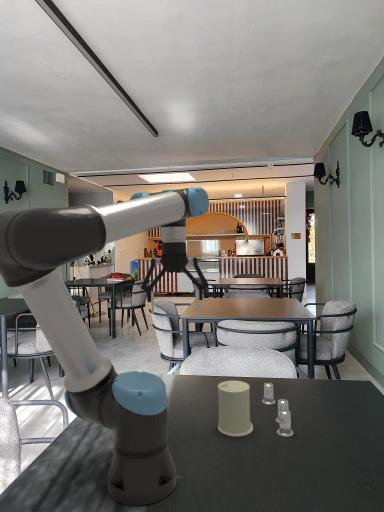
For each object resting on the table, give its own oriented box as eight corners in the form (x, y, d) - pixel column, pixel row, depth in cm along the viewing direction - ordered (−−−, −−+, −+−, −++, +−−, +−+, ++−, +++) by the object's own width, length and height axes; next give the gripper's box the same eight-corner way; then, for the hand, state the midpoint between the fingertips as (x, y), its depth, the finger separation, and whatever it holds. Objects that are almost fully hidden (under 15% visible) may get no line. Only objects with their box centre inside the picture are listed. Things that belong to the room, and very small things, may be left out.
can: (218, 418, 114) (218, 378, 113) (249, 418, 113) (249, 378, 112) (218, 433, 104) (217, 390, 104) (251, 434, 103) (250, 390, 103)
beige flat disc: (257, 435, 104) (257, 432, 104) (221, 437, 103) (221, 435, 103) (247, 418, 114) (247, 416, 114) (215, 421, 113) (215, 419, 113)
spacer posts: (302, 435, 103) (302, 413, 103) (233, 441, 101) (232, 418, 101) (273, 398, 128) (272, 381, 128) (216, 402, 126) (216, 384, 126)
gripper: (212, 241, 119) (214, 308, 119) (132, 242, 116) (134, 311, 116) (216, 240, 111) (218, 312, 112) (131, 242, 109) (133, 315, 109)
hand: (175, 312), depth 114 cm, fingers open, 13 cm apart
